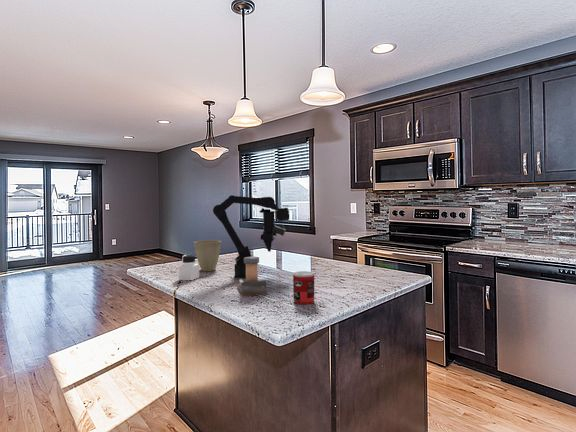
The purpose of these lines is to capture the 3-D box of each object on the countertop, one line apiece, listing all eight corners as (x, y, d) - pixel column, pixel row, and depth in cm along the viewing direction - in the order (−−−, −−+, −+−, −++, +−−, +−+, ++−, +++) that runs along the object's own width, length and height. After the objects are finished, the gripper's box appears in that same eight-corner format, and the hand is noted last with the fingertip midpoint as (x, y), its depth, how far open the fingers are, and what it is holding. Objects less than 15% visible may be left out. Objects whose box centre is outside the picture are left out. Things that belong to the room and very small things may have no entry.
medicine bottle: (199, 277, 180) (198, 254, 179) (191, 281, 173) (190, 256, 172) (187, 277, 182) (186, 253, 181) (178, 280, 175) (178, 255, 175)
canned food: (292, 299, 140) (292, 271, 139) (312, 298, 141) (312, 270, 140) (294, 305, 132) (294, 275, 132) (316, 304, 133) (315, 275, 132)
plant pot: (227, 268, 203) (226, 240, 202) (211, 273, 189) (210, 243, 189) (205, 266, 209) (204, 239, 208) (188, 271, 196) (187, 242, 195)
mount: (237, 287, 159) (237, 275, 159) (259, 285, 162) (259, 273, 162) (242, 296, 145) (242, 282, 145) (266, 293, 148) (266, 280, 148)
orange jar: (243, 286, 154) (242, 257, 153) (258, 285, 156) (257, 256, 155) (245, 290, 148) (245, 259, 147) (261, 289, 150) (260, 258, 149)
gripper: (282, 222, 173) (283, 254, 174) (286, 219, 192) (286, 248, 193) (260, 222, 174) (260, 254, 175) (265, 220, 193) (265, 248, 194)
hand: (269, 251), depth 184 cm, fingers closed
